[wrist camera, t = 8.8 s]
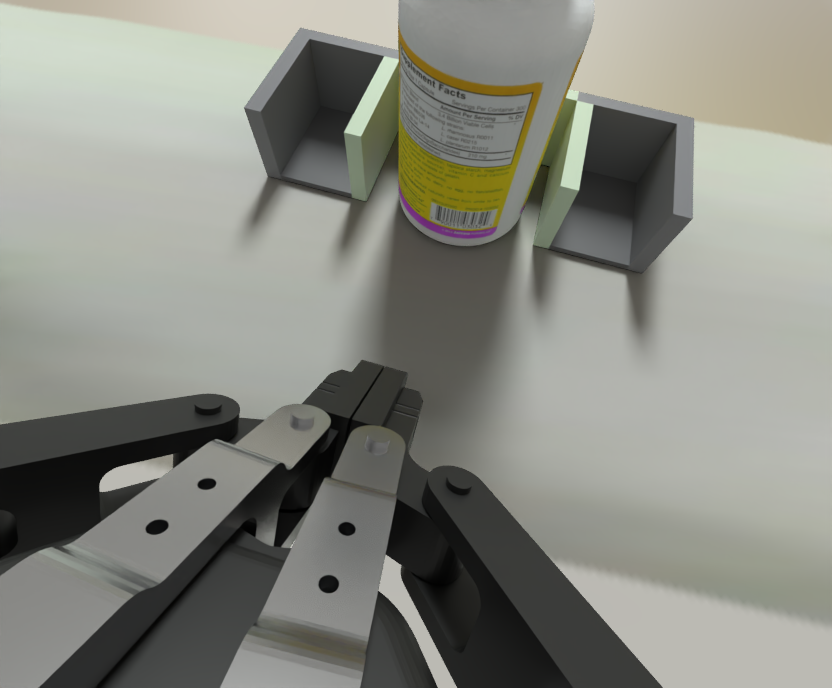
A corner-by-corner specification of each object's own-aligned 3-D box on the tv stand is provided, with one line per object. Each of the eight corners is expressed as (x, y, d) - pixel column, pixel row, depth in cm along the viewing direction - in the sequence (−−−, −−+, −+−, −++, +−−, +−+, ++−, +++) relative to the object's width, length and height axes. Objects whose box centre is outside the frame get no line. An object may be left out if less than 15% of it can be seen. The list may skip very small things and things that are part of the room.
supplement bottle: (467, 141, 25) (532, -211, 13) (546, 214, 23) (704, -127, 11) (372, 189, 23) (350, -172, 11) (448, 274, 21) (517, -61, 9)
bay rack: (267, 175, 23) (244, 107, 19) (313, 100, 26) (300, 27, 22) (642, 273, 21) (692, 218, 18) (649, 181, 24) (694, 118, 21)
